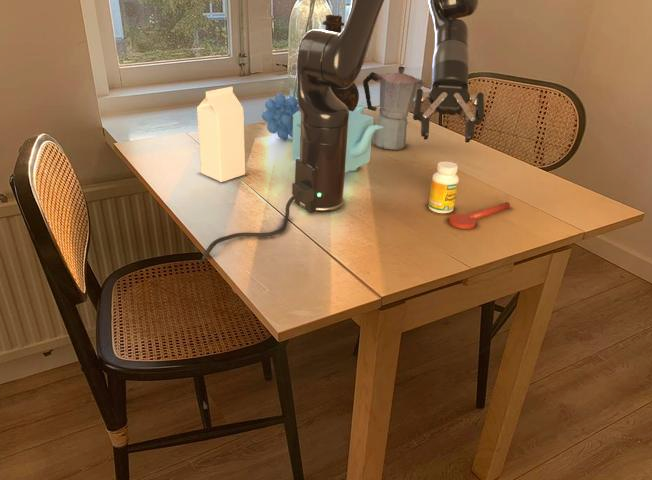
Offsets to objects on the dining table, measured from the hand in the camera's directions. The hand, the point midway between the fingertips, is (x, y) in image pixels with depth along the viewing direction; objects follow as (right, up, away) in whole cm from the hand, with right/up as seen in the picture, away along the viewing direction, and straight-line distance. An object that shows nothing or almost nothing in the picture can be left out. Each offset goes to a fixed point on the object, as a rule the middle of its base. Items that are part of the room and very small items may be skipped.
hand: (447, 139), depth 119 cm
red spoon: (+7, -16, 0) cm, 17 cm away
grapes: (-35, +8, +35) cm, 50 cm away
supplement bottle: (-1, -14, +2) cm, 14 cm away
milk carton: (-48, -5, +13) cm, 50 cm away
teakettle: (-23, -3, +19) cm, 29 cm away
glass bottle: (-24, +19, +53) cm, 61 cm away
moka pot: (-8, +7, +35) cm, 37 cm away
